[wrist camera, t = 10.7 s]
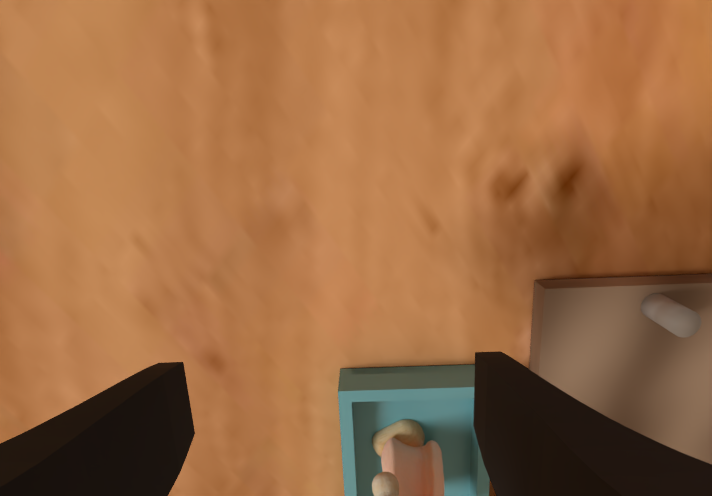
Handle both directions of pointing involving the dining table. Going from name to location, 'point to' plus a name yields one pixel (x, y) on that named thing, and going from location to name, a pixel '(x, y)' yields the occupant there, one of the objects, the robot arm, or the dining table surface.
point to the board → (632, 352)
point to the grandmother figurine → (407, 462)
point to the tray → (415, 402)
